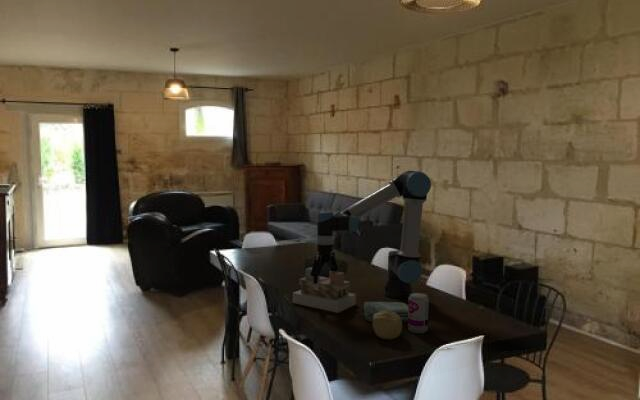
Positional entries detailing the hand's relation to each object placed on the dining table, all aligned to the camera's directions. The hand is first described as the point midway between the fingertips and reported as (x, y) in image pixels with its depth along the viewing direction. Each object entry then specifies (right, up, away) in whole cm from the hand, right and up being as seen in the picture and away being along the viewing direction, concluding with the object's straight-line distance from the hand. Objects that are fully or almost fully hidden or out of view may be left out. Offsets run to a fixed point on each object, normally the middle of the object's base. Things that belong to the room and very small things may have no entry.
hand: (324, 287), depth 248 cm
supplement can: (+39, -12, -35) cm, 53 cm away
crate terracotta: (+6, +3, -4) cm, 8 cm away
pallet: (0, -3, 0) cm, 3 cm away
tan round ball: (+25, -13, -42) cm, 51 cm away
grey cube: (-6, +4, +4) cm, 8 cm away
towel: (+28, -11, -16) cm, 34 cm away
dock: (0, -8, +1) cm, 8 cm away
